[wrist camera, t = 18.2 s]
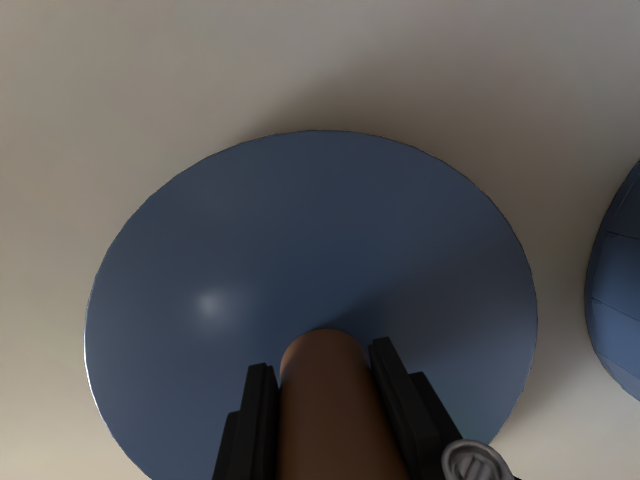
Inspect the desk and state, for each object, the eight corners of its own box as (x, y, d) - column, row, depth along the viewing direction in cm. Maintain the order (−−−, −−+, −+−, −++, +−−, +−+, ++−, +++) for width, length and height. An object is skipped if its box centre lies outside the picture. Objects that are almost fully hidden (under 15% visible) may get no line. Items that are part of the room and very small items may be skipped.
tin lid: (25, 182, 11) (-407, 235, 4) (515, 90, 11) (836, 8, 5) (178, 534, 15) (94, 825, 9) (518, 457, 16) (680, 675, 9)
